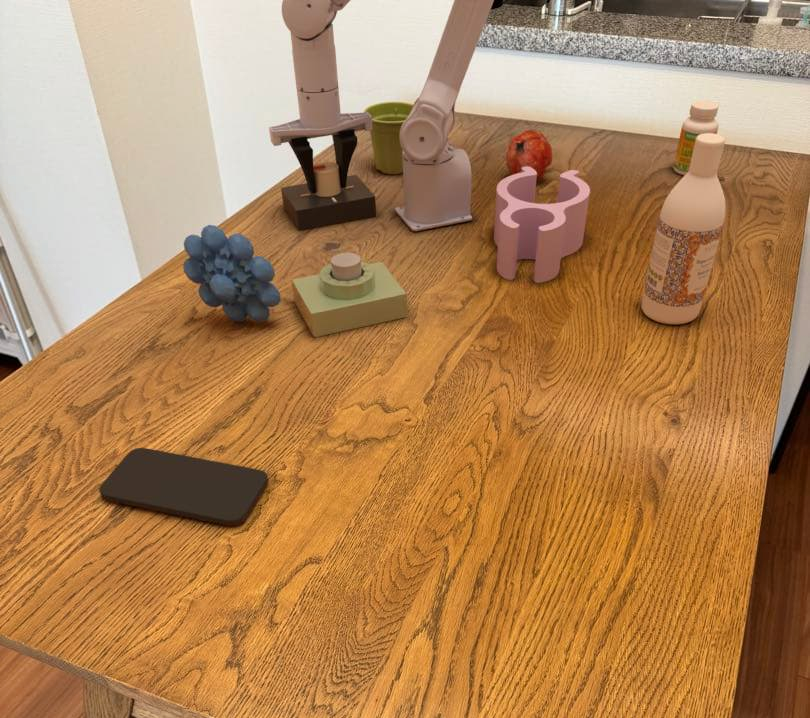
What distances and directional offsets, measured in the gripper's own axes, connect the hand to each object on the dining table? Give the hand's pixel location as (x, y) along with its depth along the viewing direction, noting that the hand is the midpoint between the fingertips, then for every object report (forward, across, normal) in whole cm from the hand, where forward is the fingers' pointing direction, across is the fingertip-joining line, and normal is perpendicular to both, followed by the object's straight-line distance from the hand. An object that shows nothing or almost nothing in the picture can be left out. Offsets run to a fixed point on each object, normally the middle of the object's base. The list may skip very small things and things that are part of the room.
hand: (327, 188), depth 116 cm
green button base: (+3, +6, +29) cm, 30 cm away
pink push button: (-1, +6, +29) cm, 30 cm away
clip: (+4, -23, +23) cm, 33 cm away
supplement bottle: (+4, -58, +9) cm, 59 cm away
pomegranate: (+4, -33, +1) cm, 33 cm away
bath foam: (+4, -30, +45) cm, 54 cm away
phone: (+3, +31, +55) cm, 63 cm away
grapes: (+4, +20, +27) cm, 34 cm away
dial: (0, 0, 0) cm, 0 cm away
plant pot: (+4, -15, -12) cm, 20 cm away
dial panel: (+3, 0, 0) cm, 3 cm away
